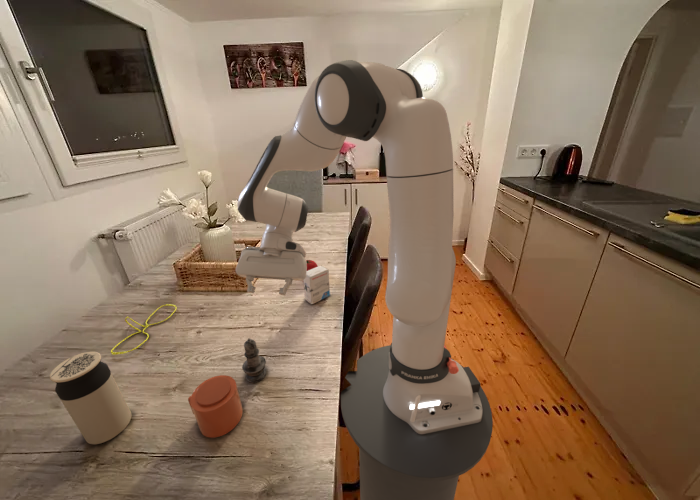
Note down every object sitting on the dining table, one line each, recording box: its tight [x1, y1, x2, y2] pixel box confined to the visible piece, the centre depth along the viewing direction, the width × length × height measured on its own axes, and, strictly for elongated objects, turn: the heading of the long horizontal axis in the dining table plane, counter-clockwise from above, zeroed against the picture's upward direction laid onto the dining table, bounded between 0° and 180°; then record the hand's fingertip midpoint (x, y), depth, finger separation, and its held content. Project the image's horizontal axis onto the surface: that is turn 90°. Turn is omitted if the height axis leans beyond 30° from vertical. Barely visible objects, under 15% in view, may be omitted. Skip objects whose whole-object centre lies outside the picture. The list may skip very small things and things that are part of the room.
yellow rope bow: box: [110, 303, 178, 356], centre depth 91 cm, size 25×10×5 cm, turn 178°
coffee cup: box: [187, 374, 244, 439], centre depth 61 cm, size 10×9×9 cm
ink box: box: [302, 265, 331, 305], centre depth 104 cm, size 9×5×12 cm, turn 132°
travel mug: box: [49, 351, 132, 445], centre depth 58 cm, size 8×8×18 cm
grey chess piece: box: [241, 338, 268, 384], centre depth 71 cm, size 6×6×12 cm
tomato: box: [305, 259, 319, 271], centre depth 121 cm, size 9×9×8 cm
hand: (266, 293), depth 78 cm, fingers open, 8 cm apart
